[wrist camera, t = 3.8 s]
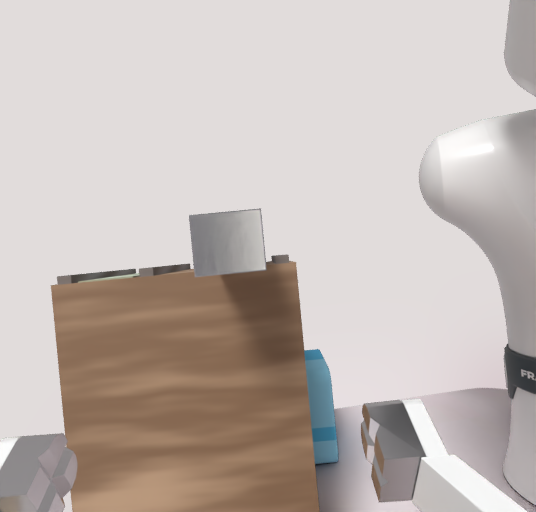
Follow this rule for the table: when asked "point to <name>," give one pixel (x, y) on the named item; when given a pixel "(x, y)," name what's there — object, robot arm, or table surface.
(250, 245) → the bar
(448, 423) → the table surface
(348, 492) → the table surface
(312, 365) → the blue box
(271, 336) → the slot shelf
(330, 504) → the table surface
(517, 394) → the robot arm
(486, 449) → the table surface
